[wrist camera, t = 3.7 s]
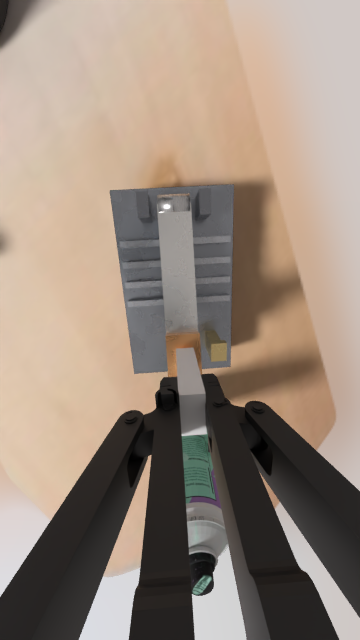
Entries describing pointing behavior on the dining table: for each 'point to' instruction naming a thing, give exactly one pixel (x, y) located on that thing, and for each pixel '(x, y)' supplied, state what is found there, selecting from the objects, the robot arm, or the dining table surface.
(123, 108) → the dining table surface
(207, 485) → the spray can
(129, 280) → the finned block
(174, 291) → the bar
